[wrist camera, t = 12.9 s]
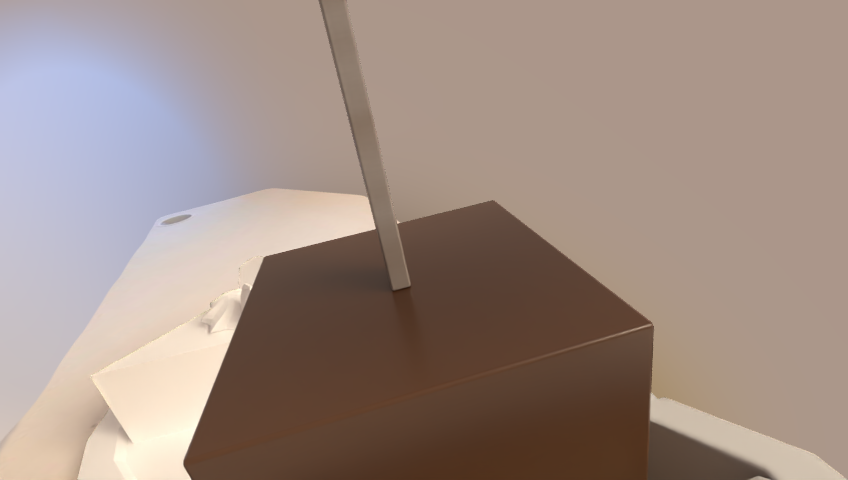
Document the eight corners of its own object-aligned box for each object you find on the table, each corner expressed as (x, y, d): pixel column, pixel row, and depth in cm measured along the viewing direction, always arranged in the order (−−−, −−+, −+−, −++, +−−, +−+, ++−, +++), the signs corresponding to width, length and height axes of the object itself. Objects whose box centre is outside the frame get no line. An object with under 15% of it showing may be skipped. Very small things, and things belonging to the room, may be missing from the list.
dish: (338, 286, 52) (312, 201, 47) (449, 405, 31) (423, 274, 27) (110, 381, 42) (50, 285, 37) (51, 651, 21) (-99, 507, 17)
